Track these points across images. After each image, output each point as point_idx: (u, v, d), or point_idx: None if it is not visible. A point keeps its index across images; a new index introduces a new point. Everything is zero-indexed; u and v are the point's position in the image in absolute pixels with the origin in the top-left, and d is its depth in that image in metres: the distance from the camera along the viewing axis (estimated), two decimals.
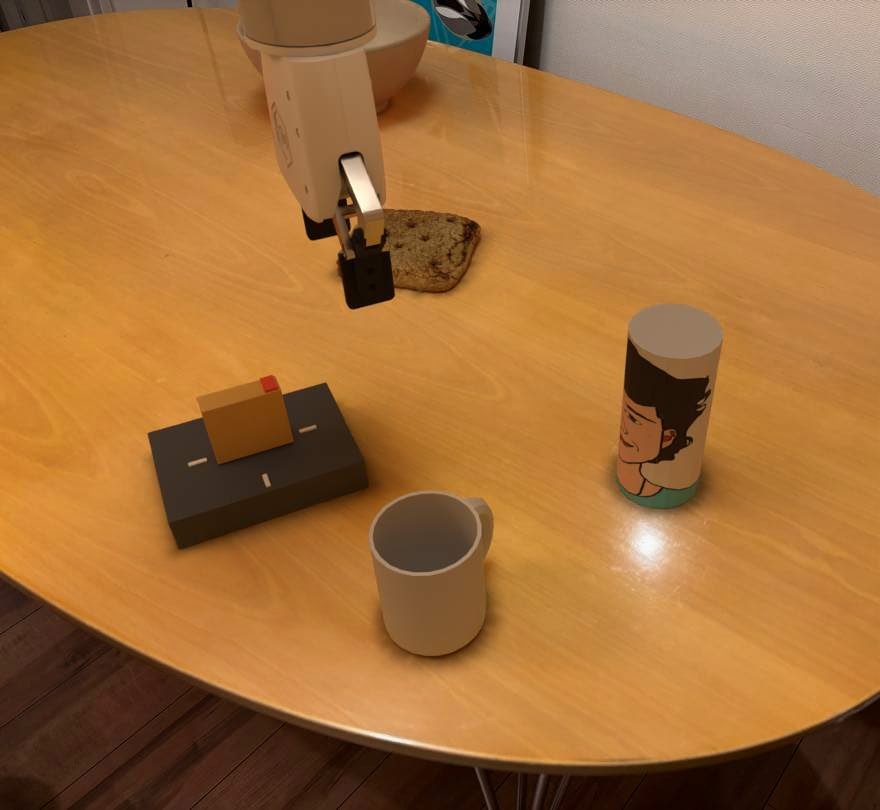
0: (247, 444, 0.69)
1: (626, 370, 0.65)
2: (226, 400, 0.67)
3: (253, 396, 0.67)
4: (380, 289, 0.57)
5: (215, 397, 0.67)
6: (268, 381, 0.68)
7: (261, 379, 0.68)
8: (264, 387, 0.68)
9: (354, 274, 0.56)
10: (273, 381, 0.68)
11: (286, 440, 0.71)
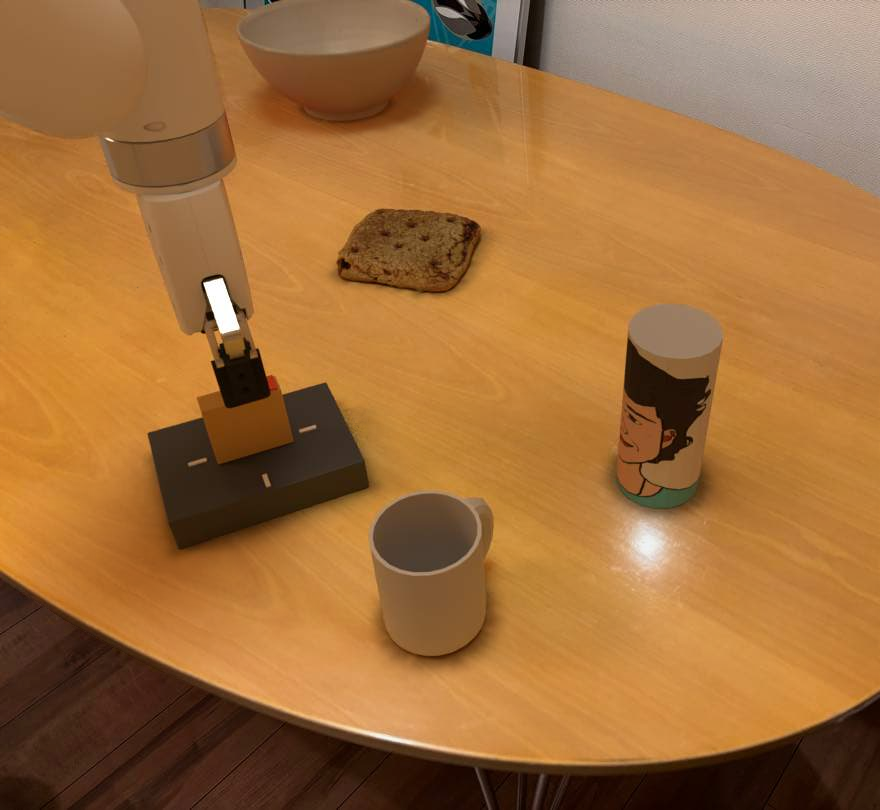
0: (247, 444, 0.69)
1: (626, 370, 0.65)
2: None
3: None
4: (253, 391, 0.61)
5: (215, 397, 0.67)
6: (268, 381, 0.68)
7: None
8: None
9: (228, 378, 0.60)
10: (273, 381, 0.68)
11: (286, 440, 0.71)
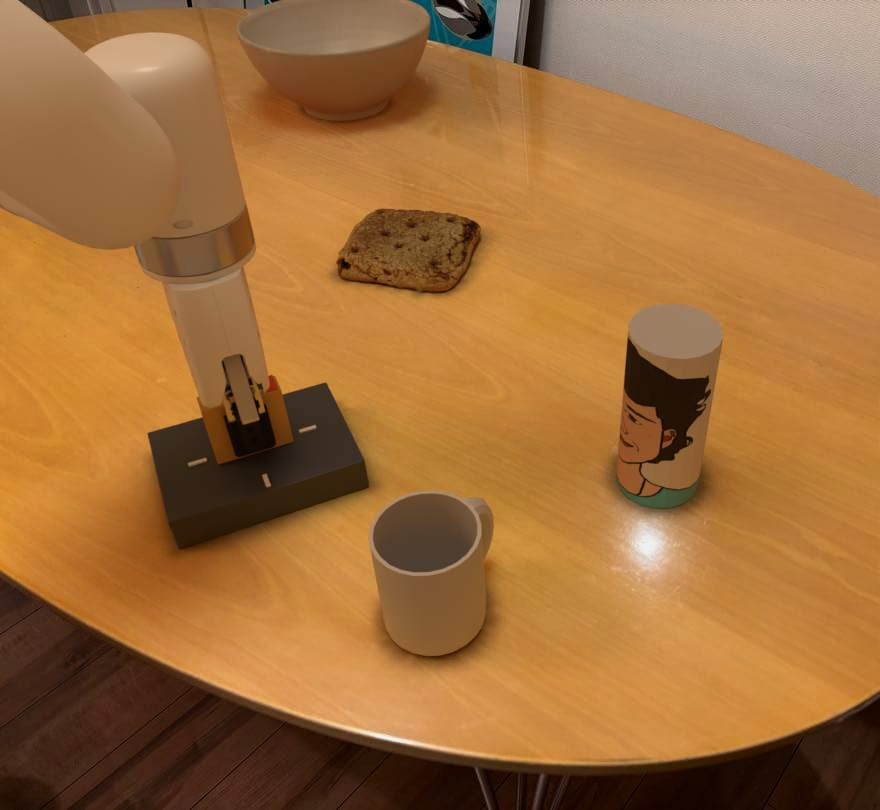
0: None
1: (626, 370, 0.65)
2: None
3: None
4: (261, 442, 0.68)
5: None
6: None
7: None
8: None
9: (238, 431, 0.68)
10: (273, 381, 0.68)
11: (286, 440, 0.71)
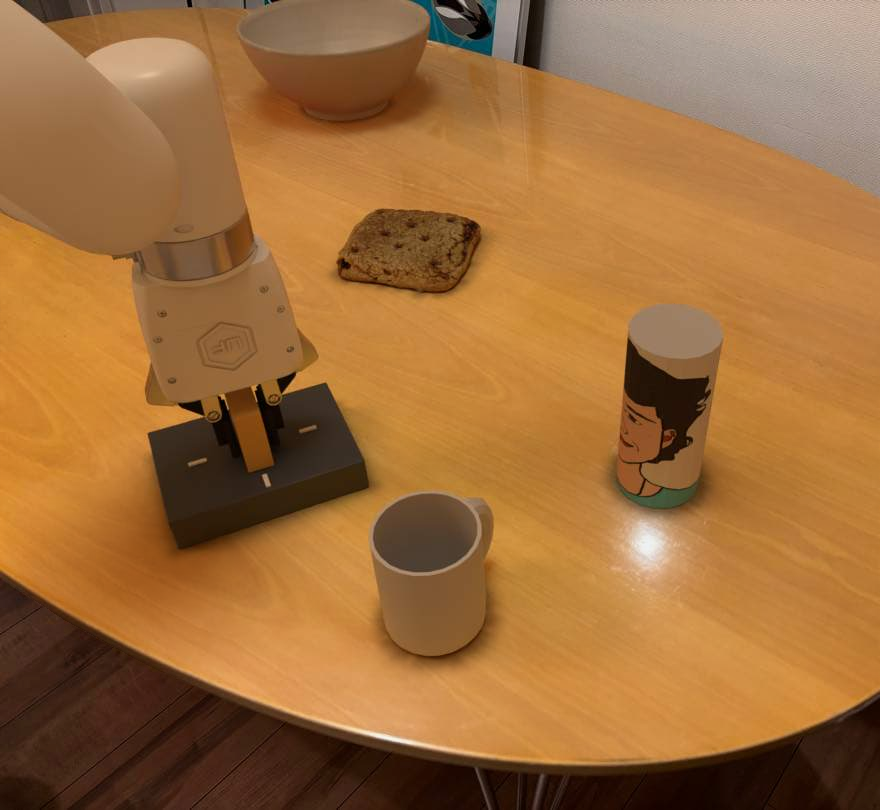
0: None
1: (626, 370, 0.65)
2: (246, 399, 0.67)
3: None
4: None
5: (239, 407, 0.66)
6: None
7: None
8: None
9: (272, 416, 0.69)
10: None
11: None
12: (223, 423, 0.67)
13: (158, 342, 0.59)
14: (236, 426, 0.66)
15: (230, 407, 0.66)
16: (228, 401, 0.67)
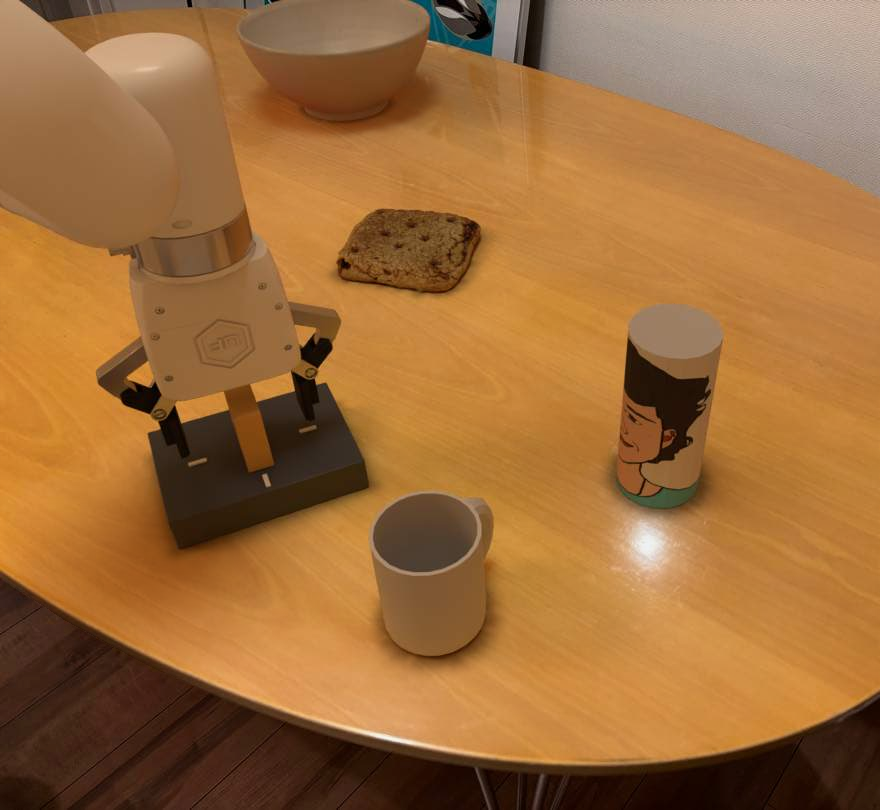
0: None
1: (626, 370, 0.65)
2: (246, 399, 0.67)
3: None
4: None
5: (239, 407, 0.66)
6: None
7: None
8: None
9: None
10: None
11: None
12: (170, 422, 0.64)
13: (155, 339, 0.59)
14: (236, 426, 0.66)
15: (230, 407, 0.66)
16: (228, 401, 0.67)
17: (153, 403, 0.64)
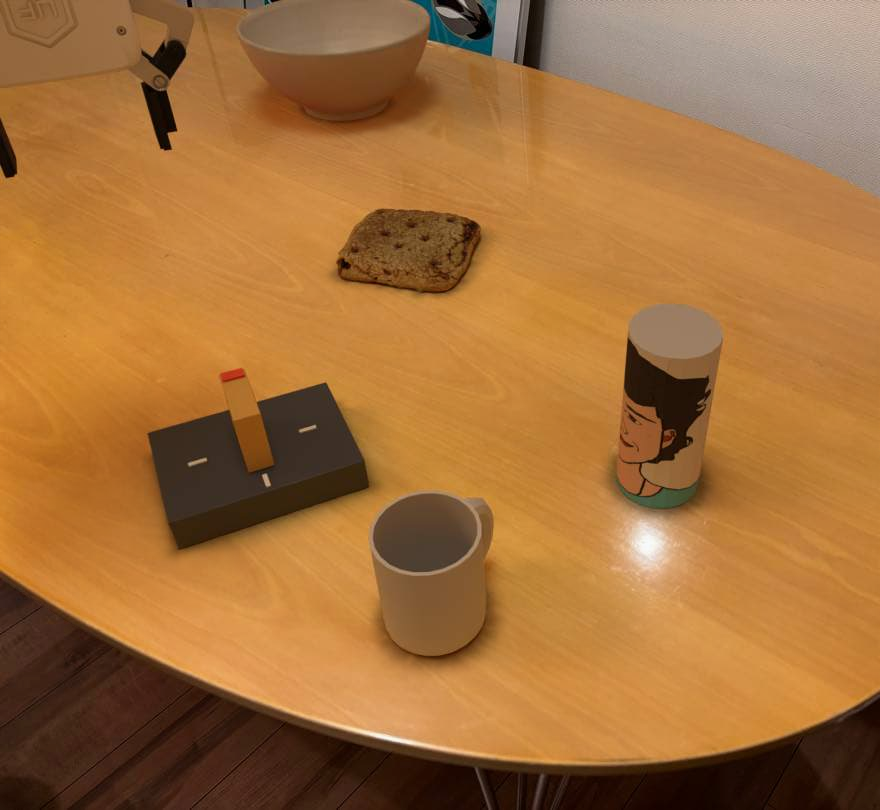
0: None
1: (626, 370, 0.65)
2: (246, 399, 0.67)
3: (247, 383, 0.68)
4: None
5: (239, 407, 0.66)
6: (230, 373, 0.69)
7: (224, 379, 0.68)
8: (239, 375, 0.69)
9: (160, 111, 0.59)
10: (232, 370, 0.69)
11: None
12: None
13: None
14: (236, 426, 0.66)
15: (230, 407, 0.66)
16: (228, 401, 0.67)
17: None
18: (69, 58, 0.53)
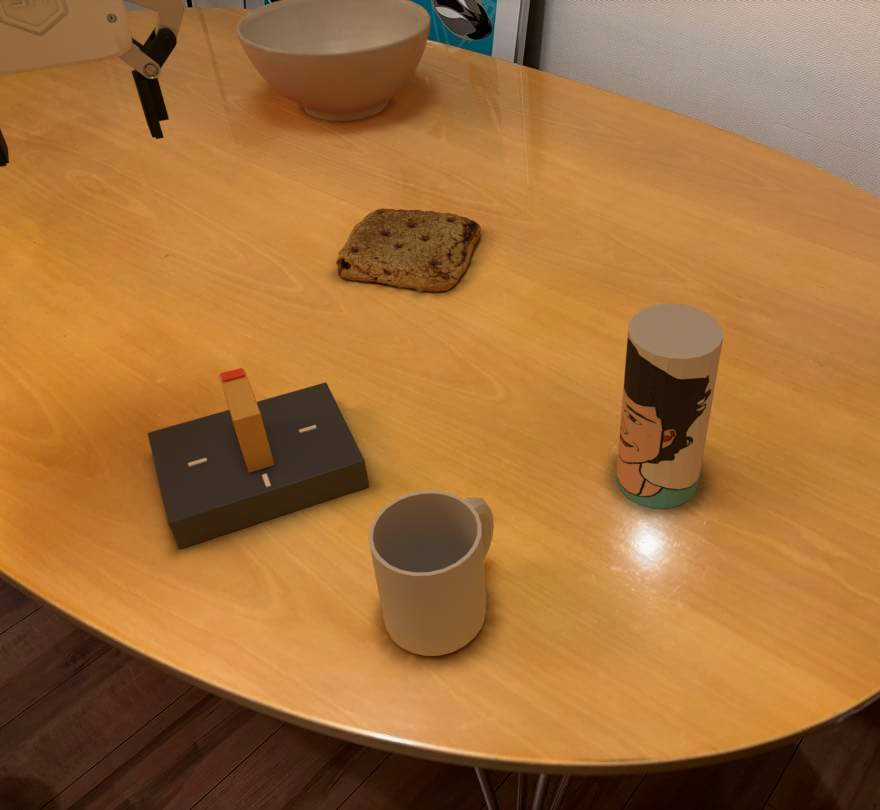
0: None
1: (626, 370, 0.65)
2: (246, 399, 0.67)
3: (247, 383, 0.68)
4: None
5: (239, 407, 0.66)
6: (230, 373, 0.69)
7: (224, 379, 0.68)
8: (239, 375, 0.69)
9: None
10: (232, 370, 0.69)
11: None
12: None
13: None
14: (236, 426, 0.66)
15: (230, 407, 0.66)
16: (228, 401, 0.67)
17: None
18: (60, 46, 0.53)
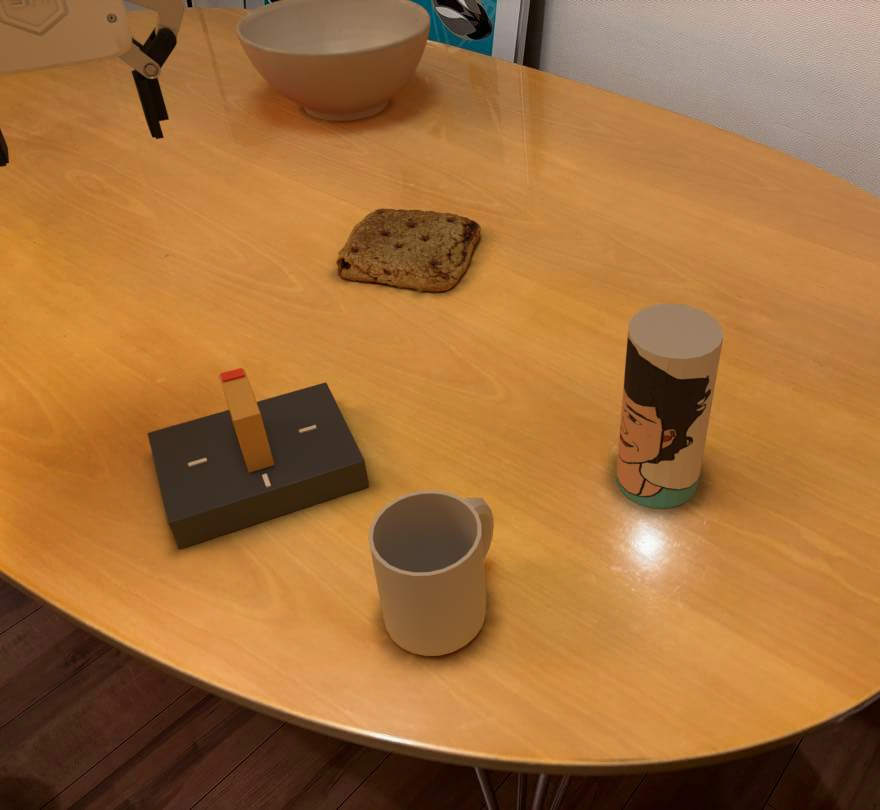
0: None
1: (626, 370, 0.65)
2: (246, 399, 0.67)
3: (247, 383, 0.68)
4: None
5: (239, 407, 0.66)
6: (230, 373, 0.69)
7: (224, 379, 0.68)
8: (239, 375, 0.69)
9: None
10: (232, 370, 0.69)
11: None
12: None
13: None
14: (236, 426, 0.66)
15: (230, 407, 0.66)
16: (228, 401, 0.67)
17: None
18: (60, 46, 0.53)
